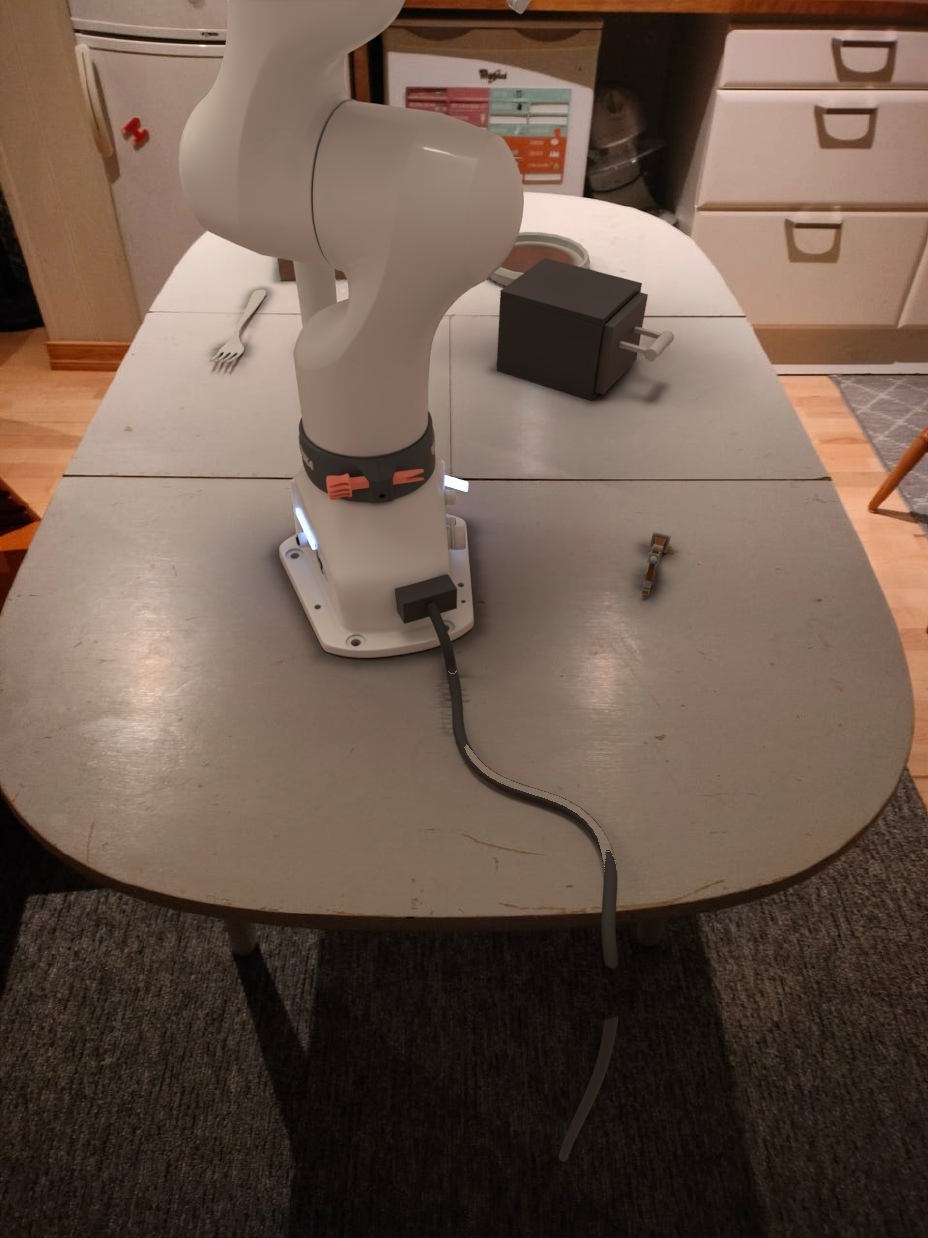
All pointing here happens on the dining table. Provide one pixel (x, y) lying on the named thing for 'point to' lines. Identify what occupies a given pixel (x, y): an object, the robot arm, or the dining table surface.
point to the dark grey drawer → (627, 342)
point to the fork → (234, 343)
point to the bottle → (314, 288)
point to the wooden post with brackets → (654, 558)
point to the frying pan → (539, 254)
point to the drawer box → (558, 324)
